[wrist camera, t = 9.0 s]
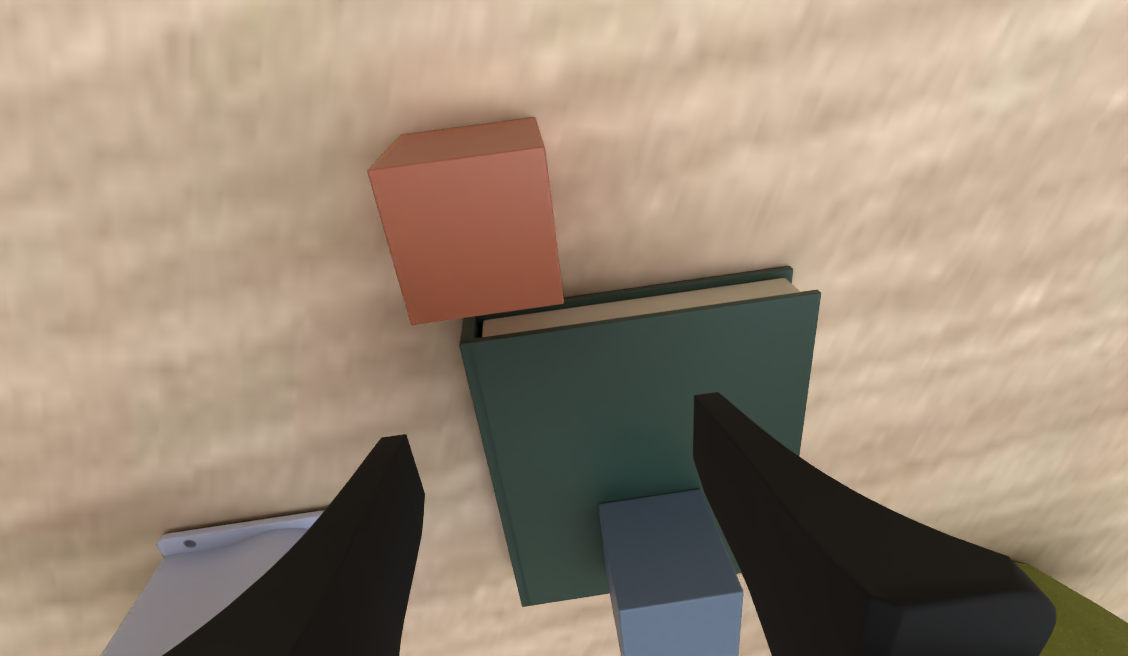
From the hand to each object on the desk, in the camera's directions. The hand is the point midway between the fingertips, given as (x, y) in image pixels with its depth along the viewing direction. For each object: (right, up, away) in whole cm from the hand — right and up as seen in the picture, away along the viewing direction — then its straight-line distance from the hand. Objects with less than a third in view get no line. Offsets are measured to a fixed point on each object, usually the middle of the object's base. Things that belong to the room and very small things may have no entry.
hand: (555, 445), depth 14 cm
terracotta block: (-3, +8, +6) cm, 10 cm away
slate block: (+4, -6, +11) cm, 13 cm away
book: (+4, -2, +12) cm, 12 cm away
